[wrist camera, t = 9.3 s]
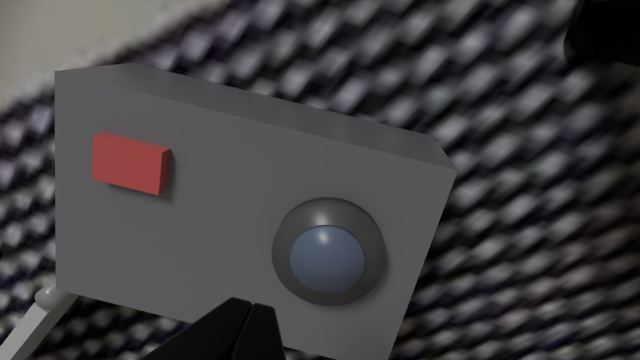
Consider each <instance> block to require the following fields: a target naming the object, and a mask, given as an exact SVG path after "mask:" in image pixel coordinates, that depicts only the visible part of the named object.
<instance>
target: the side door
mask: <svg viewBox="0 0 640 360" xmlns="http://www.w3.org/2000/svg"><path fill="white" fill-rule="evenodd" d="M78 296H79V295H77V294H73V293H69V292H65V291H61V290H57V289H56V278H55V279H53V280H52V281H51V282H50V283H48V284H47V285H46V286H45V287H43V288H42V289H41V290H39V291H38V292H37V293H36V295H35V300H36V302H35V303H34V304H33V305H32V306H31V308H30V309H29V310H28V312H27V313H26V314H25V316H24V317H23V318H22V319H21V321H20V322H19V323H18V325H17V326H16V327H15V328H14V330H13V331H12V332H11V334H10V335H9V336H8V338H7V339H6V340H5V341H4V343H3V344H2V345H1V346H0V360H25V359H26V358H27V357H28V356H29V355H30V354H31V353H32V352H33V351H34V350H35V349H36V347H37V346H38V345H39V344H40V343H41V341H42V340H43V339H44V338H45V337H46V335H47V334H48V333H49V332H50V330H51V329H52V328H53V327H54V326H55V324H56V323H57V322H58V321H59V319H60V318H61V317H62V316H63V315H64V313H65V312H66V311H67V310H68V309H69V307H70V306H71V305H72V304H73V302H74V301H75V300H76V299H77V298H78Z"/></svg>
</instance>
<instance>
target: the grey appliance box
mask: <svg viewBox="0 0 640 360" xmlns="http://www.w3.org/2000/svg"><path fill="white" fill-rule="evenodd" d="M457 172H458V170H457V168H456V167H455V166H454V164H453V163H452V162H451V160H450V159H449V158H448V156H447V155H446V154H445V153H444V151H443V150H442V149H441V147H440V146H439V145H438V143H437V142H436V141H435V139H434V138H433V137H432V136H429V135H425V134H421V133H417V132H413V131H409V130H405V129H401V128H397V127H392V126H388V125H384V124H380V123H376V122H372V121H368V120H364V119H360V118H356V117H352V116H348V115H344V114H339V113H335V112H331V111H327V110H323V109H319V108H315V107H311V106H307V105H303V104H299V103H295V102H290V101H286V100H282V99H278V98H274V97H270V96H266V95H262V94H258V93H254V92H250V91H246V90H242V89H237V88H233V87H229V86H225V85H221V84H217V83H213V82H209V81H205V80H201V79H197V78H193V77H188V76H184V75H180V74H176V73H172V72H168V71H164V70H160V69H156V68H152V67H148V66H144V65H139V64H135V63H127V64H118V65H109V66H99V67H90V68H80V69H71V70H62V71H55V210H56V289H57V290H61V291H65V292H69V293H73V294H77V295H81V296H85V297H89V298H93V299H97V300H101V301H105V302H109V303H113V304H117V305H121V306H125V307H129V308H133V309H137V310H141V311H145V312H149V313H153V314H157V315H161V316H165V317H169V318H173V319H177V320H181V321H185V322H189V323H194V322H195V321H197V320H198V319H200V318H201V317H203V316H204V315H205V314H207V313H208V312H210V311H211V310H213V309H214V308H216V307H217V306H219V305H220V304H221V303H223V302H224V301H226V300H227V299H229V298H231V297H236V298H240V299H244V300H248V301H250V302H251V303H252V305H253V304H254V303H260V304H264V305H268V306H272V307H273V308H274V309H275V311H276V316H277V320H278V325H279V329H280V333H281V338H282V342H283V346H285V347H289V348H293V349H297V350H301V351H305V352H309V353H313V354H316V355H320V356H324V357H328V358H332V359H336V360H388V358H389V356H390V353H391V350H392V347H393V345H394V342H395V339H396V337H397V334H398V331H399V328H400V326H401V323H402V320H403V318H404V315H405V312H406V310H407V307H408V304H409V301H410V299H411V296H412V293H413V291H414V288H415V285H416V282H417V280H418V277H419V274H420V272H421V269H422V266H423V264H424V261H425V258H426V255H427V253H428V250H429V247H430V245H431V242H432V239H433V237H434V234H435V231H436V228H437V226H438V223H439V220H440V218H441V215H442V212H443V209H444V207H445V204H446V201H447V199H448V196H449V193H450V191H451V188H452V185H453V182H454V180H455V177H456V174H457Z"/></svg>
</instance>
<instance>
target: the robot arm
mask: <svg viewBox="0 0 640 360" xmlns="http://www.w3.org/2000/svg"><path fill="white" fill-rule="evenodd" d="M581 32H582V33H583V34H584V40H583V42H582V43H581V44H577V42H576V37H577V35H578V34H579V33H581ZM564 42H565V46H566V47H567V49H569V50H571V51H574V52H578V53H582V54H586V55H590V56H594V57H598V58H602V59H607V60H611V61H615V62H619V63H623V64H627V65H631V66H635V67H640V0H580V2H579V4H578V6H577V9H576V11H575V14H574V16H573V18H572V21H571V23H570V26H569V28H568V30H567V33H566V35H565V40H564ZM140 360H286V356H285V351H284V347H283V342H282V338H281V333H280V329H279V325H278V320H277V316H276V311H275V309H274V308H273V307H272V306H268V305H264V304H260V303H254V304H253V305H252V303H251V302H250V301H248V300H244V299H240V298H236V297H231V298H229V299H227V300H226V301H224V302H223V303H221V304H220V305H219V306H217V307H216V308H214V309H213V310H211V311H210V312H208V313H207V314H205V315H204V316H203V317H201V318H200V319H198V320H197V321H195V322H194V323H192V324H191V325H189V326H188V327H186V328H185V329H184V330H182V331H181V332H179V333H178V334H176V335H175V336H173V337H172V338H170V339H169V340H168V341H166V342H165V343H163V344H162V345H160V346H159V347H157V348H156V349H154V350H153V351H151V352H150V353H149V354H147V355H146V356H144V357H143V358H141V359H140Z"/></svg>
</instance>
